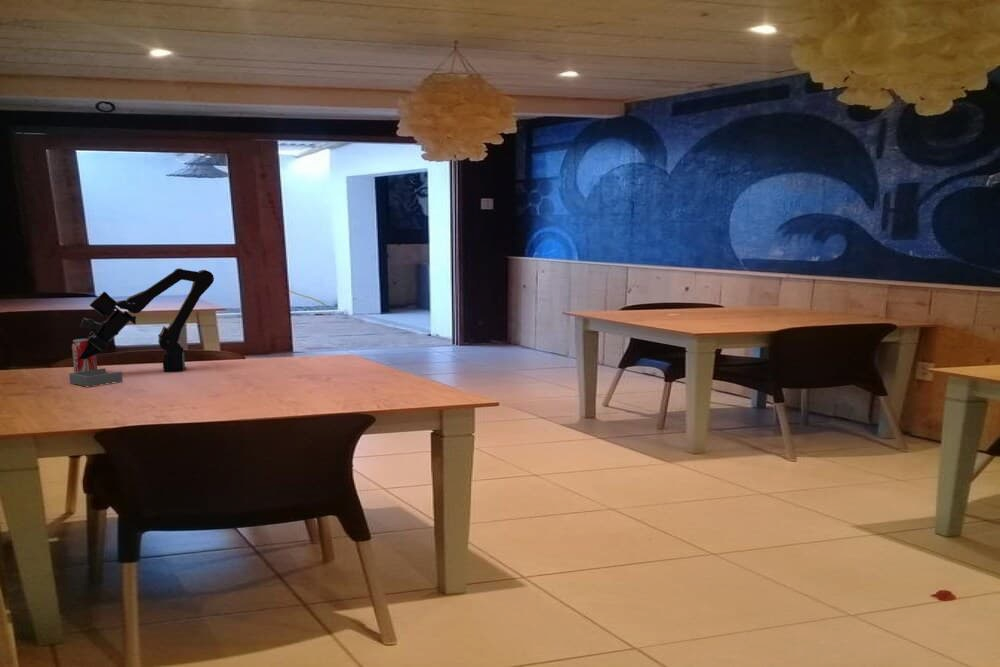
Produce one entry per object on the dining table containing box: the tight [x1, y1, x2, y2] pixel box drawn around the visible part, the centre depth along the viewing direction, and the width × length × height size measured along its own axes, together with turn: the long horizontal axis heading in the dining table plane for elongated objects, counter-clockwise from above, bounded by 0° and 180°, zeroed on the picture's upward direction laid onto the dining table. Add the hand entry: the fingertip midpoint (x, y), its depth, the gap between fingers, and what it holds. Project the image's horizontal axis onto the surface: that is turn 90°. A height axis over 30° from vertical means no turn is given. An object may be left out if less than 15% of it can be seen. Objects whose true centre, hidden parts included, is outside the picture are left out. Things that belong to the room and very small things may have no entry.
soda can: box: [71, 338, 98, 373], centre depth 266 cm, size 7×7×13 cm
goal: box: [69, 367, 123, 387], centre depth 257 cm, size 12×12×3 cm
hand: (80, 358), depth 265 cm, fingers open, 5 cm apart
